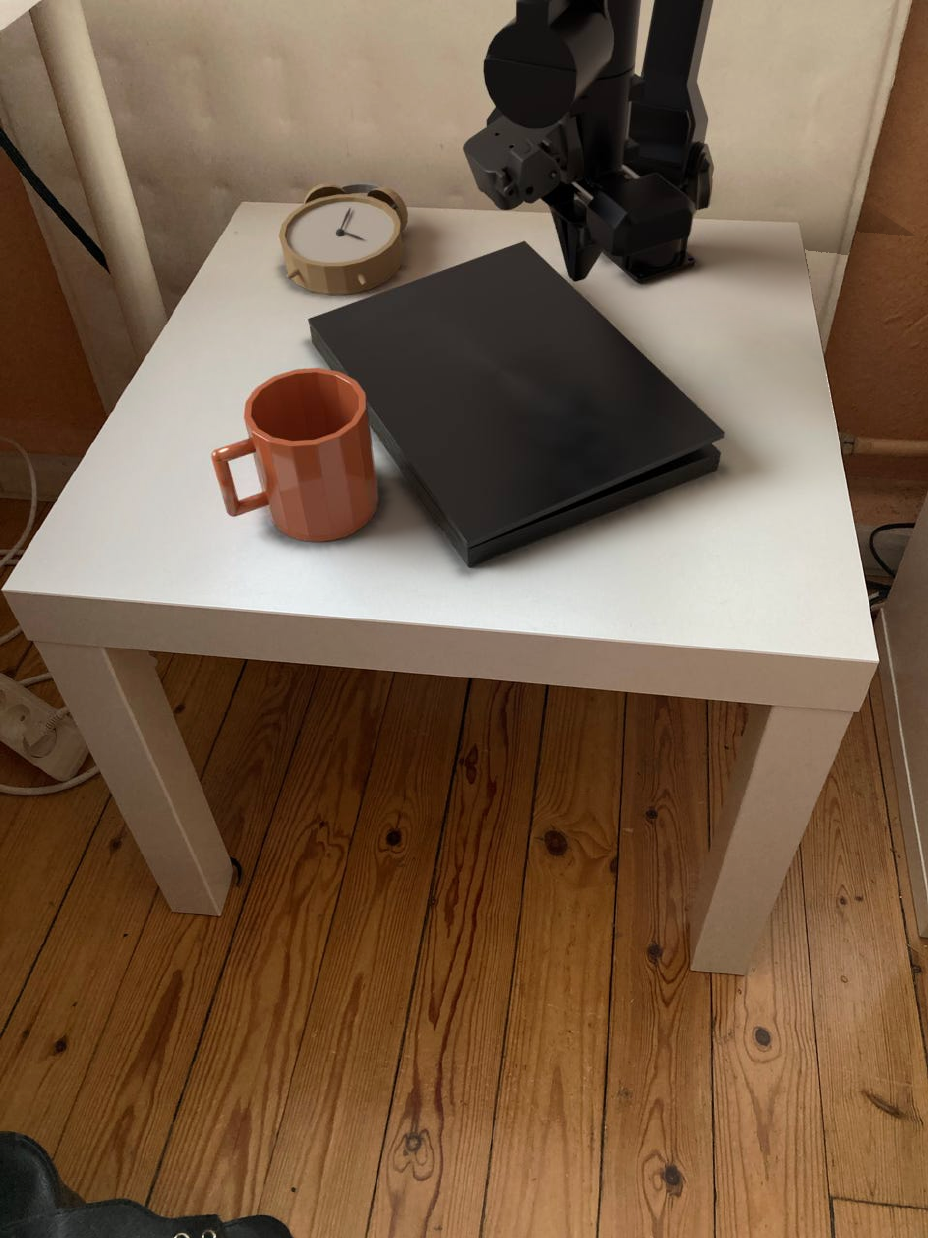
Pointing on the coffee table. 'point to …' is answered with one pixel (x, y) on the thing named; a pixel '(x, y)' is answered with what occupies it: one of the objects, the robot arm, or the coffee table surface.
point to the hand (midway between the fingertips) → (577, 278)
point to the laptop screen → (509, 390)
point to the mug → (306, 455)
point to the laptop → (562, 518)
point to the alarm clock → (344, 238)
